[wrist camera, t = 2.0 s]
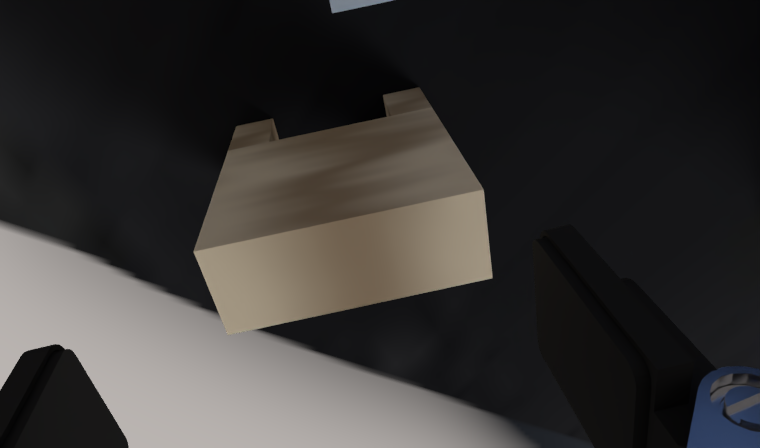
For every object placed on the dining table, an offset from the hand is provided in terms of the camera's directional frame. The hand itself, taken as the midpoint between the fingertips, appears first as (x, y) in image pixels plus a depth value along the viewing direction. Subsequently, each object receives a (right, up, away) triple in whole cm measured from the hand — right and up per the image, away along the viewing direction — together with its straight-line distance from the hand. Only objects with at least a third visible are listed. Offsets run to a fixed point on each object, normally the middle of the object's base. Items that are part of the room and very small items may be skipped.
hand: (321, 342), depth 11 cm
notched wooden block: (-1, +6, +10) cm, 12 cm away
